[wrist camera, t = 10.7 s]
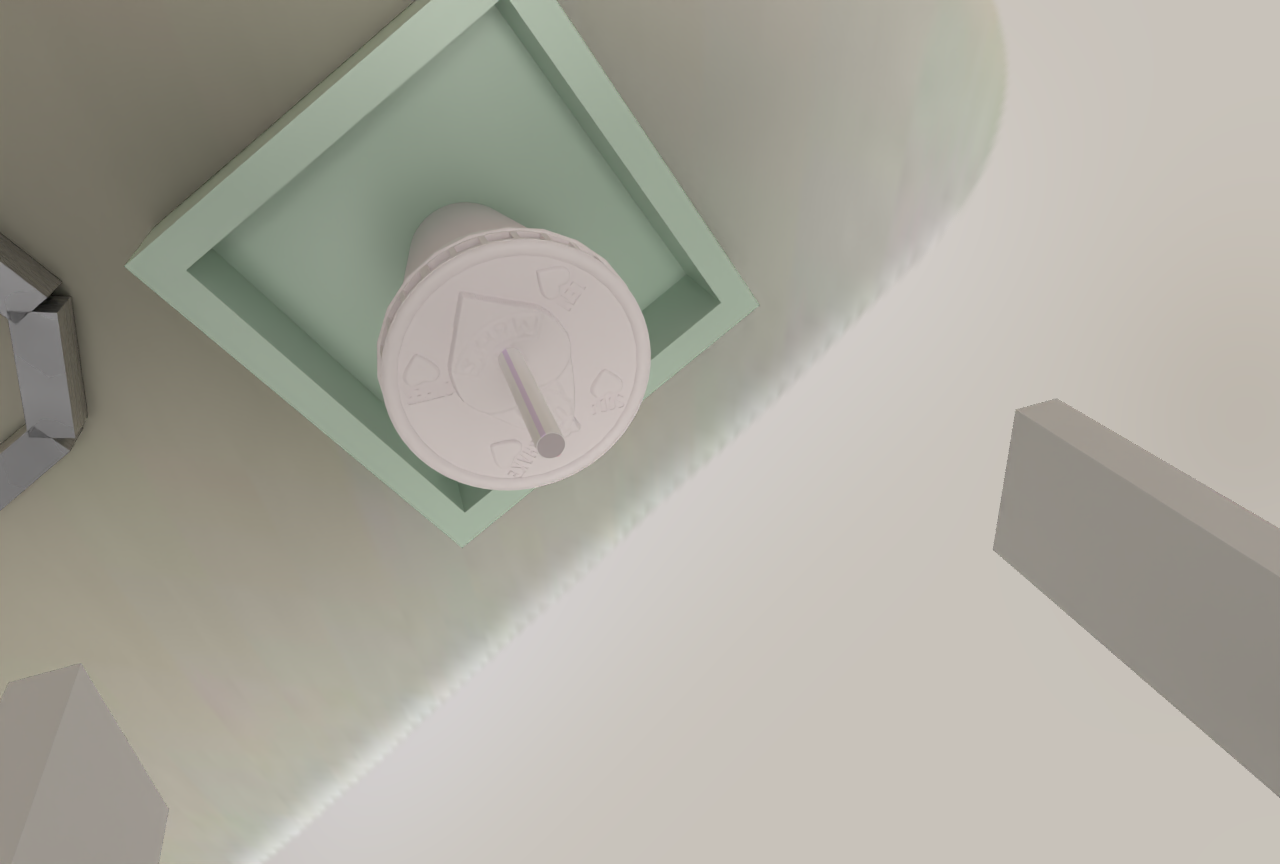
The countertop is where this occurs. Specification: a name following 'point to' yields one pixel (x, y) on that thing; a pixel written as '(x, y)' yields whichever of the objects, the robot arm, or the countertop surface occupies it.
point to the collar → (39, 371)
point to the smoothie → (509, 351)
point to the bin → (408, 193)
